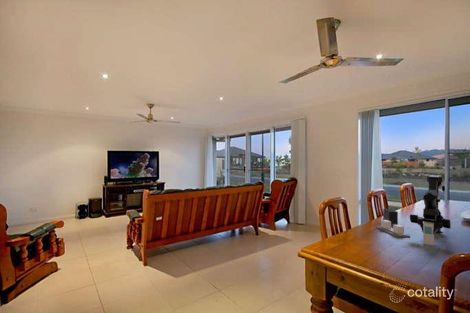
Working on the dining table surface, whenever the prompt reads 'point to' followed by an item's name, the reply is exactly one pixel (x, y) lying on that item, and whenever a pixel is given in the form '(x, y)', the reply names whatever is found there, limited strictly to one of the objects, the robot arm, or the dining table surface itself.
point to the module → (428, 233)
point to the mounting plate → (392, 229)
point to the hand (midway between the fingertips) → (428, 233)
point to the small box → (390, 216)
